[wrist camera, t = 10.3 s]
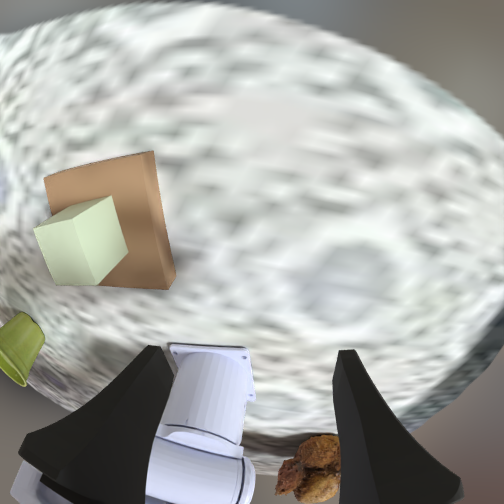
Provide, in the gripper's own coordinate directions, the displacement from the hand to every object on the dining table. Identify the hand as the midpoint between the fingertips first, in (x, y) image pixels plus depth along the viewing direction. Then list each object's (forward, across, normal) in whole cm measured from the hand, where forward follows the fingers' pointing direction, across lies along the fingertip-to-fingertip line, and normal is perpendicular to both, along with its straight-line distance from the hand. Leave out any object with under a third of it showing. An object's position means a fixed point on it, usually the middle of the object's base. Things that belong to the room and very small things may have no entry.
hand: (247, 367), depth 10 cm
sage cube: (+8, +12, -3) cm, 15 cm away
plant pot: (+10, +36, +12) cm, 40 cm away
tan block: (+11, +12, -3) cm, 17 cm away
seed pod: (+10, -8, +36) cm, 38 cm away
